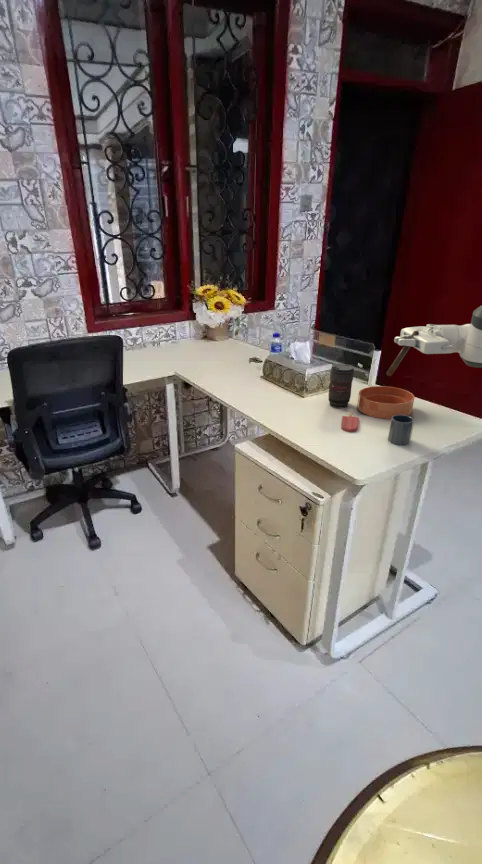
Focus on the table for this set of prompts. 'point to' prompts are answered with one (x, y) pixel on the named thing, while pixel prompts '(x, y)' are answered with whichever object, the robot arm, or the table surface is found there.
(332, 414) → the table surface
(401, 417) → the cup
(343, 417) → the popsicle
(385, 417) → the bowl
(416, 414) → the table surface
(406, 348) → the stick
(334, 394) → the camera lens
